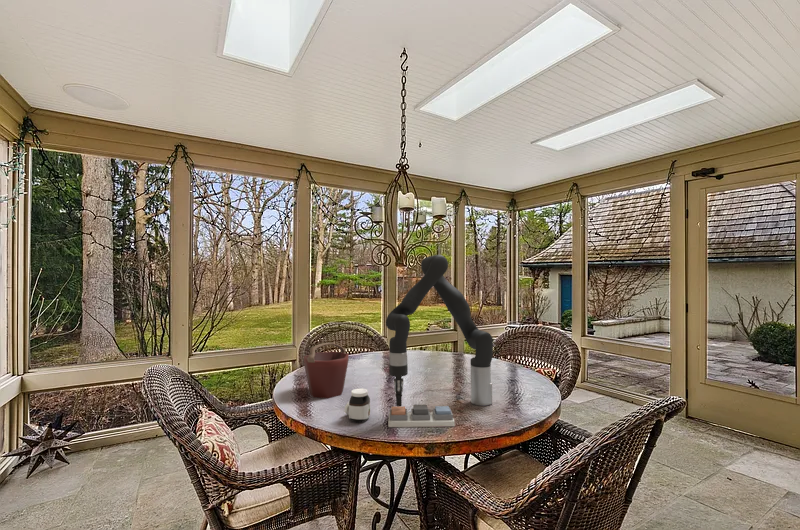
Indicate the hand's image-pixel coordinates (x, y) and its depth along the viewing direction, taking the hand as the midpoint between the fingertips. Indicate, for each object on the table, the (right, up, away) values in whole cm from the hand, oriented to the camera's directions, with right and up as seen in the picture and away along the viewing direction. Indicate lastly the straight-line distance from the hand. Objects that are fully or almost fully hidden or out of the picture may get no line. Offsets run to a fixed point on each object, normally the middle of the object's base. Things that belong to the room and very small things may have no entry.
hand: (398, 405), depth 156 cm
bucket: (-37, -8, +38) cm, 54 cm away
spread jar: (-18, -7, +5) cm, 20 cm away
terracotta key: (0, -4, 0) cm, 4 cm away
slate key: (+18, -4, 0) cm, 18 cm away
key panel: (+9, -7, 0) cm, 11 cm away
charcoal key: (+9, -3, 0) cm, 9 cm away
